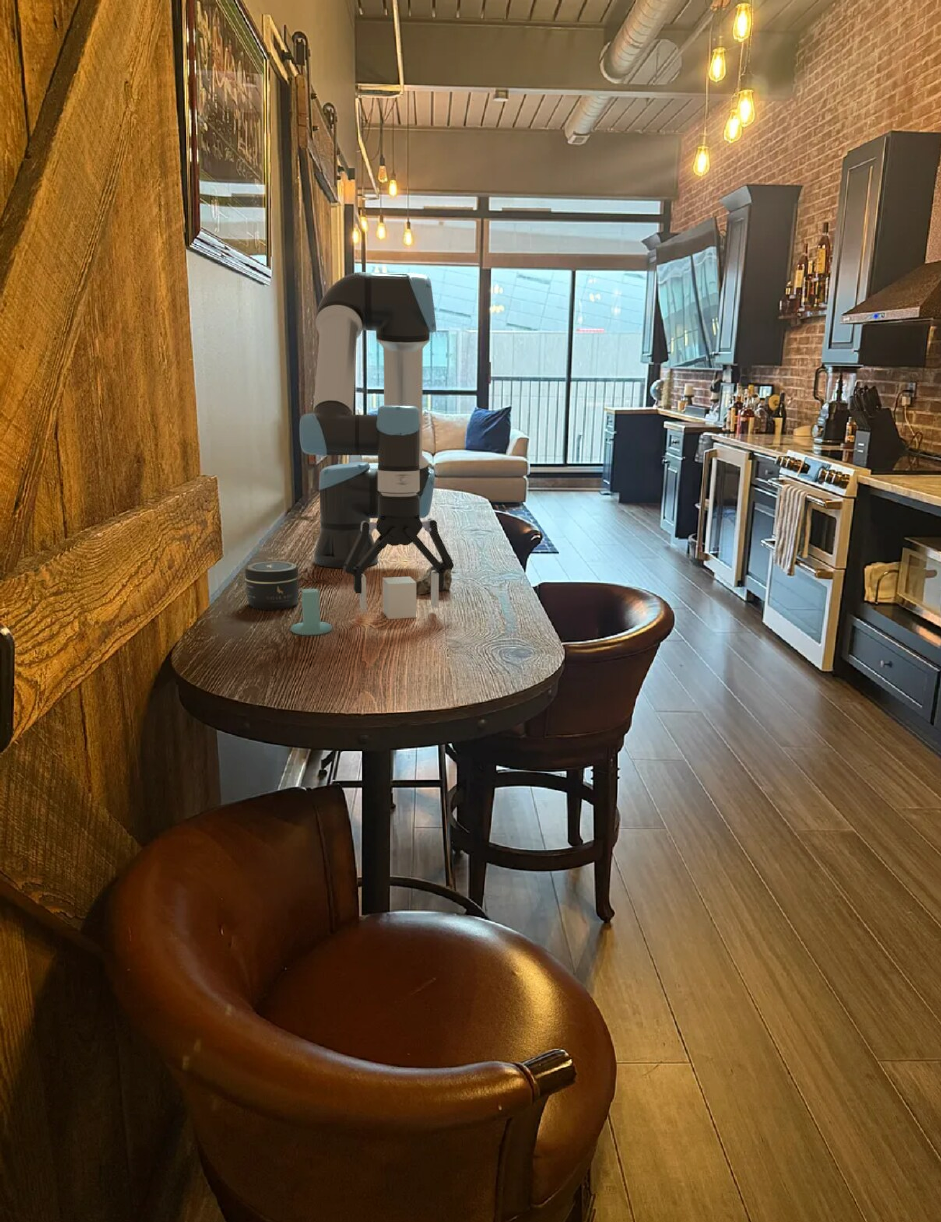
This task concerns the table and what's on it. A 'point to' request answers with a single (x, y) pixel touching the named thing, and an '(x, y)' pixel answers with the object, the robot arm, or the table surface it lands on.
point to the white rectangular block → (399, 597)
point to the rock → (425, 581)
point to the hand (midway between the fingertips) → (399, 608)
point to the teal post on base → (311, 615)
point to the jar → (272, 585)
